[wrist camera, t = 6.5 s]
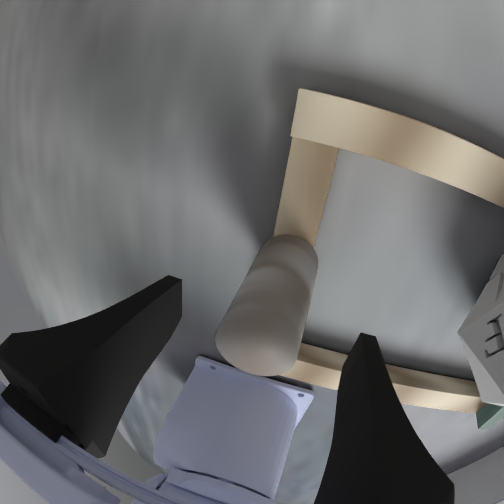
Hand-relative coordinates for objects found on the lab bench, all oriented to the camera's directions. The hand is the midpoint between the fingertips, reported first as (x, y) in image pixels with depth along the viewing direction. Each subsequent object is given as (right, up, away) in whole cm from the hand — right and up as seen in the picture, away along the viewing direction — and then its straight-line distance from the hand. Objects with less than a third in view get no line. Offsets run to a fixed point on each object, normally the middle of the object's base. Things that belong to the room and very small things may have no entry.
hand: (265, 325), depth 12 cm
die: (+15, +1, +2) cm, 15 cm away
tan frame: (+10, 0, +3) cm, 10 cm away
